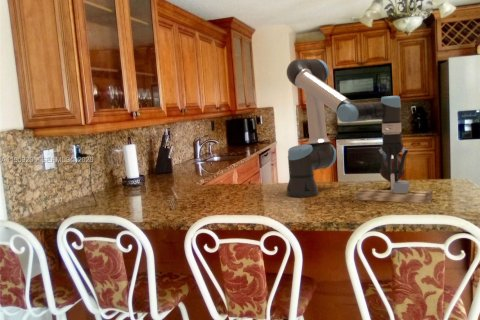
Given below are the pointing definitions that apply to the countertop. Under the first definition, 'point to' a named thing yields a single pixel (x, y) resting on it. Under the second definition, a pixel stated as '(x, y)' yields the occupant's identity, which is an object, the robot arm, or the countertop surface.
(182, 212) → the countertop surface
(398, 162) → the ice cream bowl
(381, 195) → the rail
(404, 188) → the rider
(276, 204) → the countertop surface
